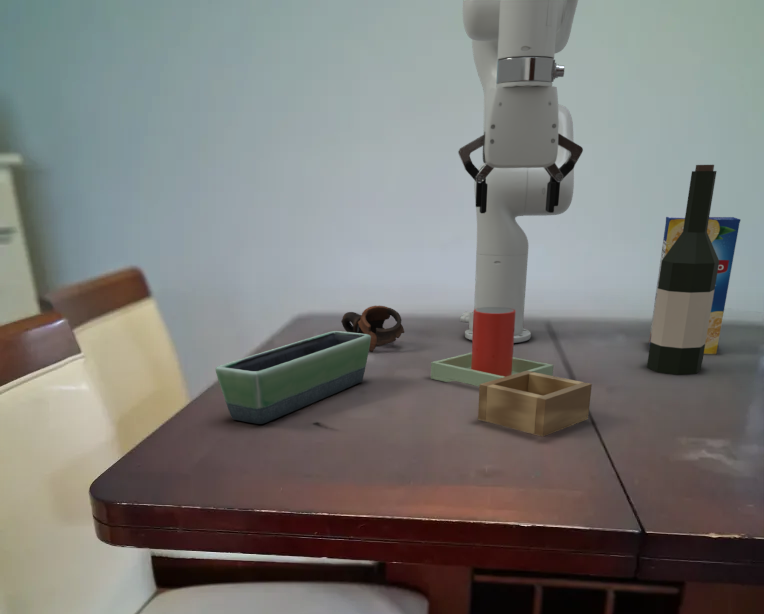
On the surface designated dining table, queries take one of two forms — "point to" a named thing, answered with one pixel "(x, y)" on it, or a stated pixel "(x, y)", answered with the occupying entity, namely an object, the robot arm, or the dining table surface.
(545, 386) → the box
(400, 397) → the dining table surface
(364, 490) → the dining table surface
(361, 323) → the pottery mug
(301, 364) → the planter
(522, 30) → the robot arm
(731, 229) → the beverage box
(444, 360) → the tray
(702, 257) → the wine bottle
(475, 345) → the can
